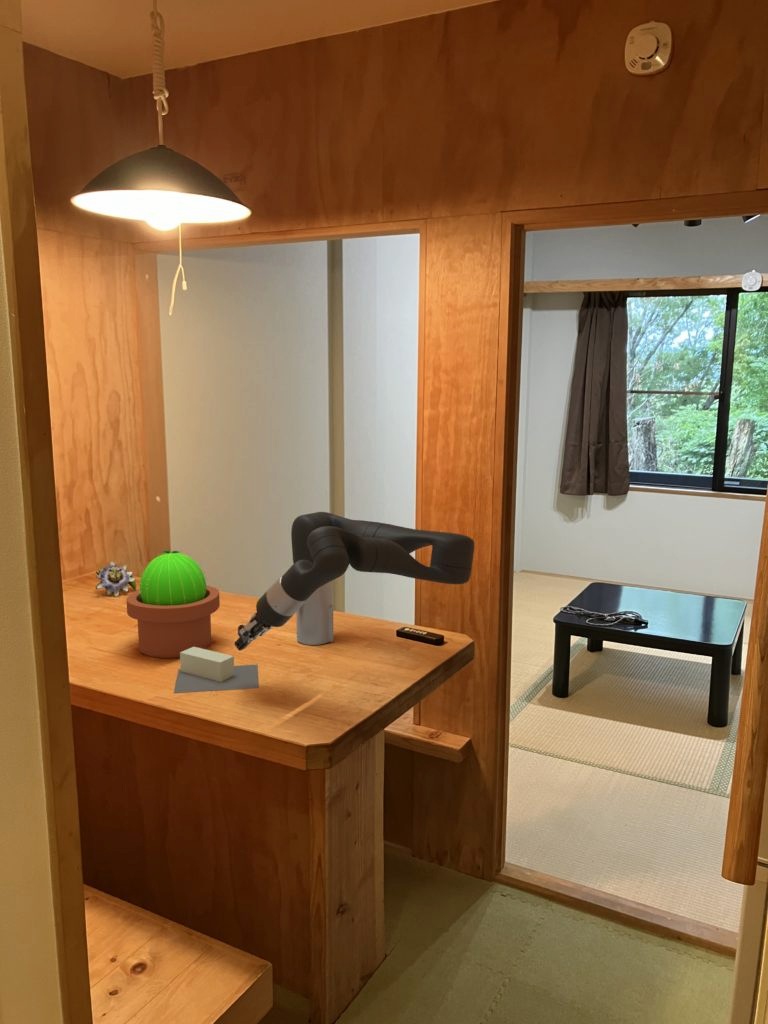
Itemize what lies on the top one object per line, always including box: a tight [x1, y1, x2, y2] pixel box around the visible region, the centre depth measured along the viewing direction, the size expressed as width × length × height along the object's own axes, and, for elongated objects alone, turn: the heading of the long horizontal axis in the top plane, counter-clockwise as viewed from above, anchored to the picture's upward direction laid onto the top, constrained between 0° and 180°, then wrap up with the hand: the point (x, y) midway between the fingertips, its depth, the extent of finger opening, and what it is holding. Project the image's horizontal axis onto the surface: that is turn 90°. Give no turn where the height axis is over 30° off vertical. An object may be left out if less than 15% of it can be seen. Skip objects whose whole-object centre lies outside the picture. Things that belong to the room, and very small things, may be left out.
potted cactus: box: [125, 550, 221, 659], centre depth 198 cm, size 22×22×25 cm
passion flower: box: [95, 561, 137, 598], centre depth 247 cm, size 11×11×12 cm
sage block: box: [179, 647, 235, 682], centre depth 180 cm, size 4×4×12 cm
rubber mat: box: [173, 663, 260, 694], centre depth 178 cm, size 18×14×1 cm
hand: (238, 646), depth 174 cm, fingers closed
